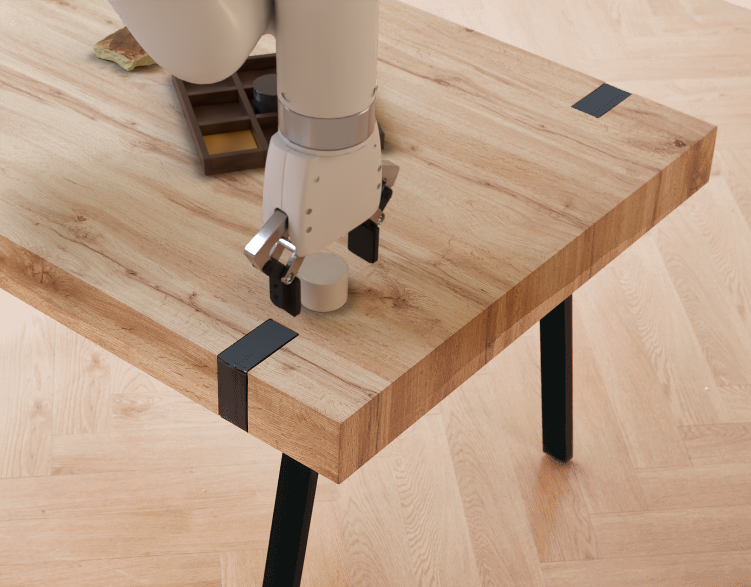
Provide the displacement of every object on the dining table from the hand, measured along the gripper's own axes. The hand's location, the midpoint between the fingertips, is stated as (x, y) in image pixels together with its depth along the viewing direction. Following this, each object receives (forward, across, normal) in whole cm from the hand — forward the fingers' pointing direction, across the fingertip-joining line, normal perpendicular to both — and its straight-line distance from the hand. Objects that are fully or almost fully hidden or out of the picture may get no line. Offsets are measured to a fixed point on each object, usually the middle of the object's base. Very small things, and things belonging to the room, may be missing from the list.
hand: (325, 281), depth 94 cm
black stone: (+1, -18, -25) cm, 30 cm away
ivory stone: (+2, 0, 0) cm, 2 cm away
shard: (+2, -15, -47) cm, 49 cm away
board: (+2, -18, -25) cm, 30 cm away
